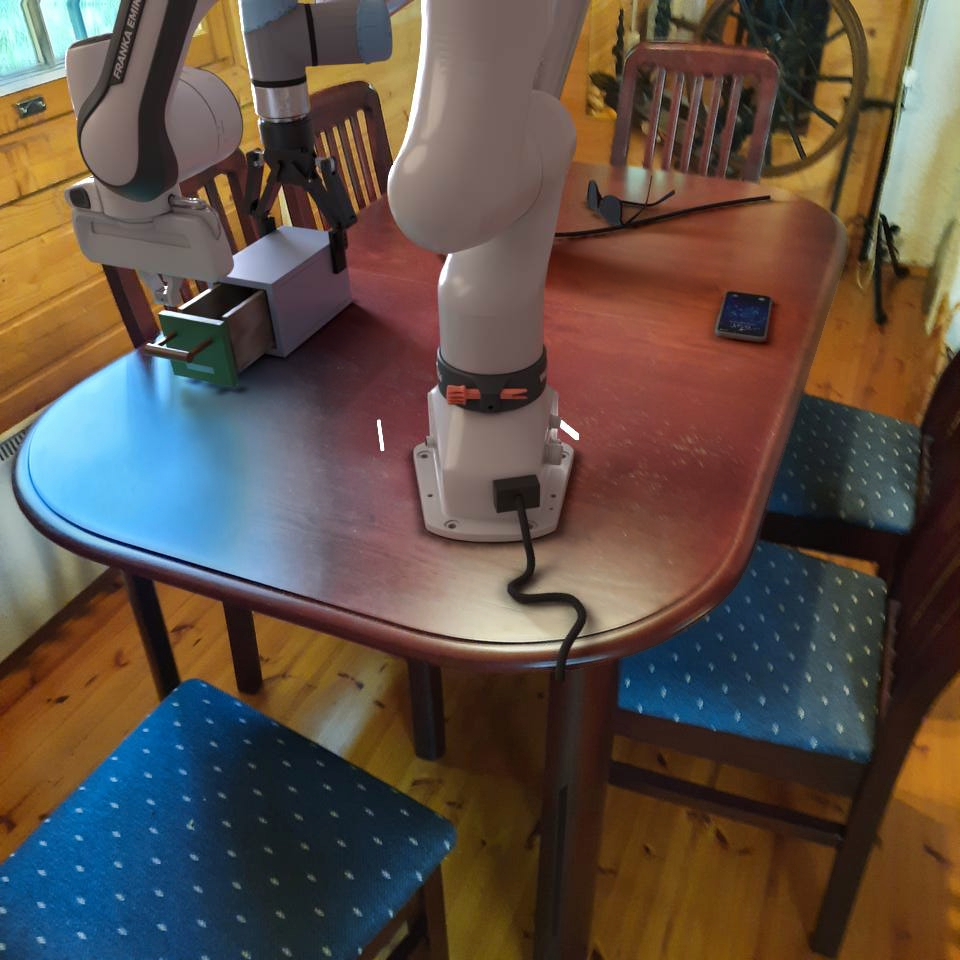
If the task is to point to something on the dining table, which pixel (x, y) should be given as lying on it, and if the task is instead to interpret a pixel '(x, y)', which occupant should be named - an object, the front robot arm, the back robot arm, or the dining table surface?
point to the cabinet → (293, 282)
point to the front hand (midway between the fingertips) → (168, 303)
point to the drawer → (216, 334)
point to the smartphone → (744, 316)
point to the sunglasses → (615, 204)
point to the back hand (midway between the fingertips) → (306, 265)
